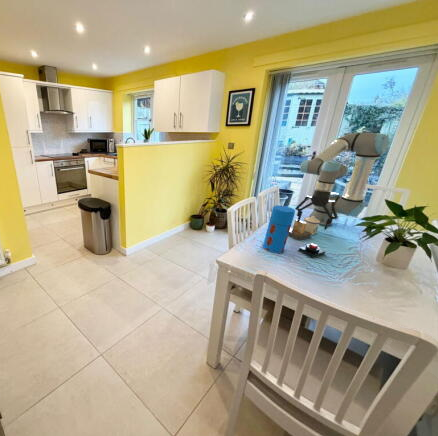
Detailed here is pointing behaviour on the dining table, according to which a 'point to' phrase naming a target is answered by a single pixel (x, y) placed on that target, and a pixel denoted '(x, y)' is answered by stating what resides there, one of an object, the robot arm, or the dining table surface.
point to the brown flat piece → (299, 234)
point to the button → (313, 245)
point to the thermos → (278, 228)
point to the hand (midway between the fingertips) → (311, 225)
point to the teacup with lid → (312, 225)
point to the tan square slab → (299, 226)
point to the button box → (311, 251)
